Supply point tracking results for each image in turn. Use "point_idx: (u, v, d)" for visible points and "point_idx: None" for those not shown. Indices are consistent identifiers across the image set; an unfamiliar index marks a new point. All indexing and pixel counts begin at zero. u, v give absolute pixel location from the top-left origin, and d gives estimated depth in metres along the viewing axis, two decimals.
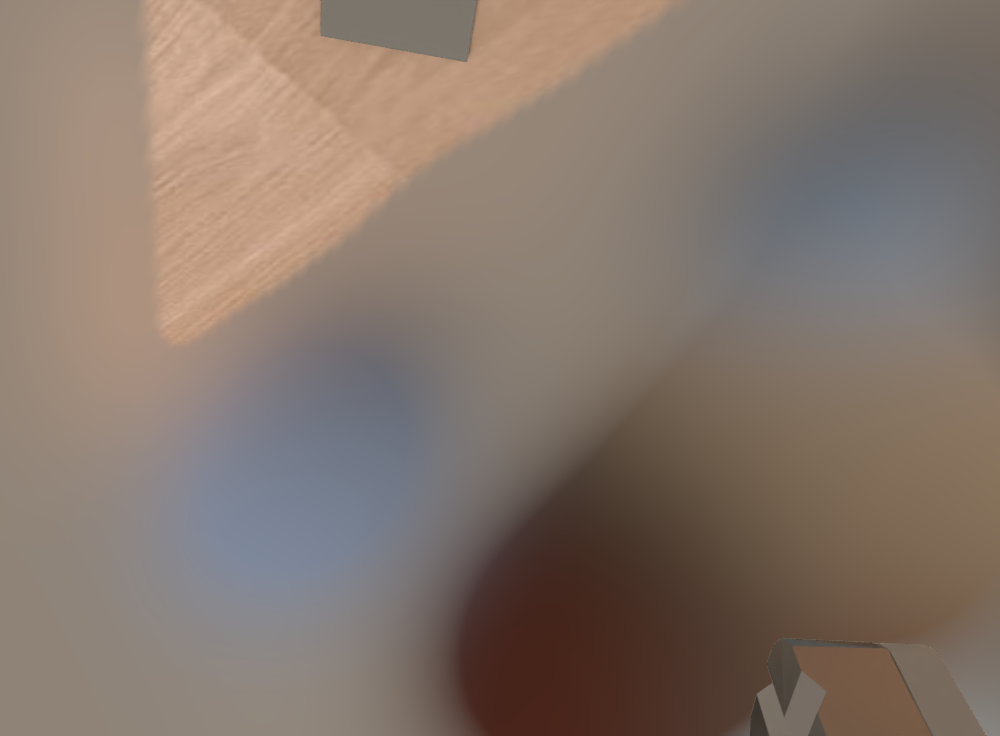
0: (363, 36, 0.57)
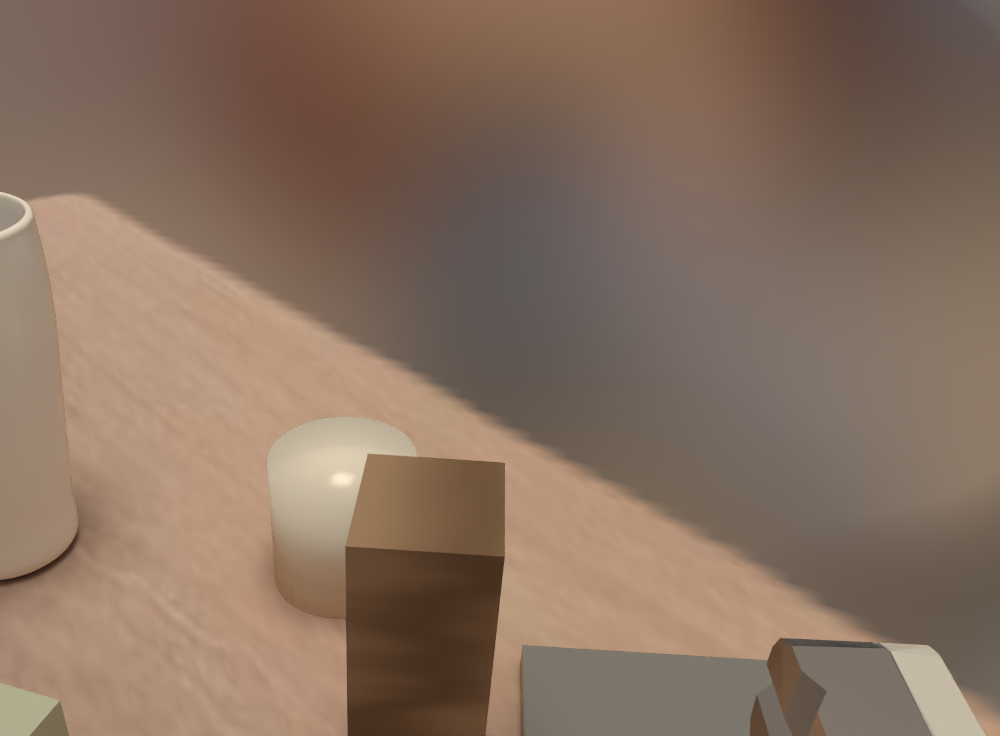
0: None
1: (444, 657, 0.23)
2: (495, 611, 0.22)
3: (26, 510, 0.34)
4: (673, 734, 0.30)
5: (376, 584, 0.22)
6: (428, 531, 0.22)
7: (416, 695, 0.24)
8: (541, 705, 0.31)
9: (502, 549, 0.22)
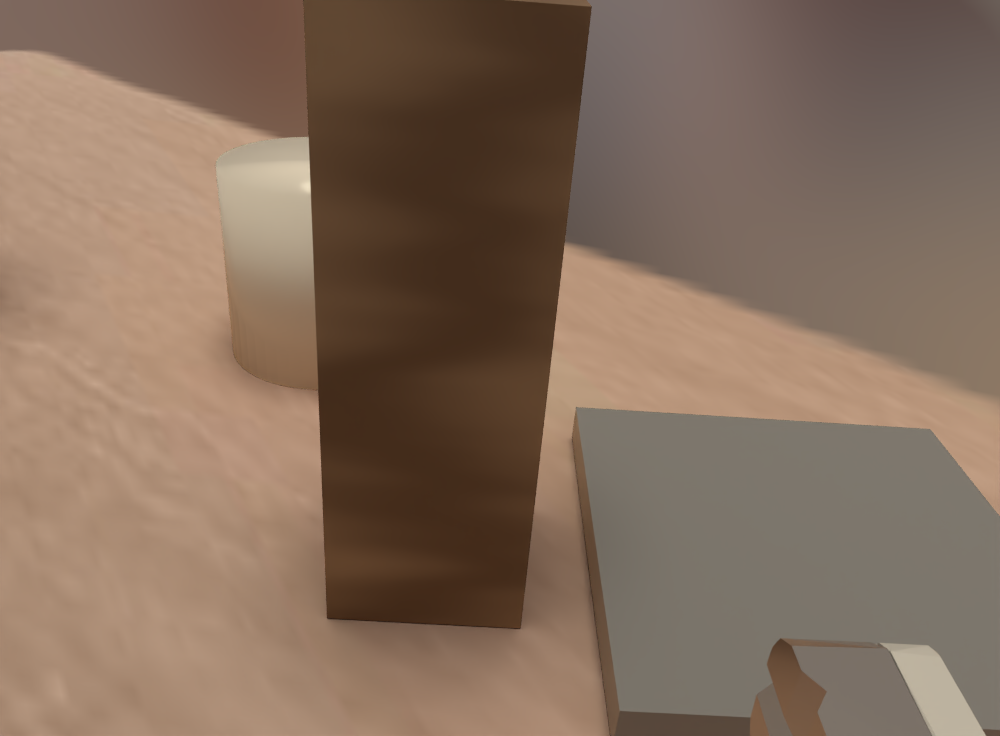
0: None
1: (480, 252, 0.14)
2: (570, 143, 0.13)
3: None
4: (806, 500, 0.21)
5: (360, 80, 0.12)
6: None
7: (431, 338, 0.14)
8: (610, 467, 0.21)
9: (586, 3, 0.12)
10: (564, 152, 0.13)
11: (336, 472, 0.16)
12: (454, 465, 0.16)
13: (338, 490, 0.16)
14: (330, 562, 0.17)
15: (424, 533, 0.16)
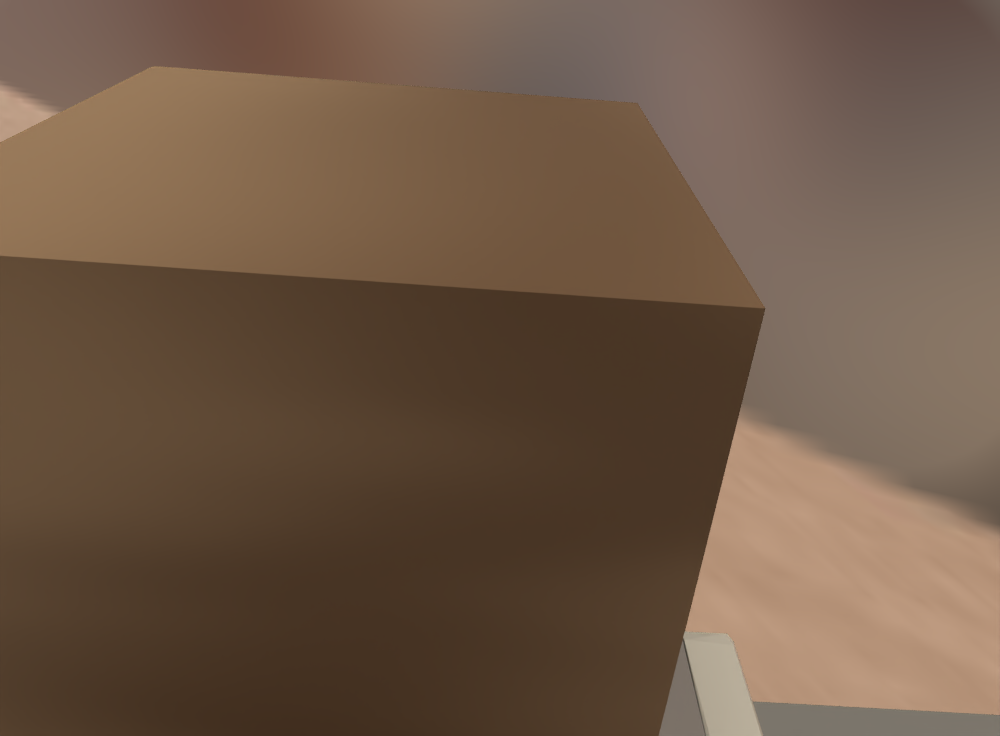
0: None
1: None
2: (668, 630, 0.05)
3: None
4: None
5: (50, 490, 0.04)
6: (330, 212, 0.04)
7: None
8: None
9: (738, 281, 0.04)
10: (651, 648, 0.05)
11: None
12: None
13: None
14: None
15: None
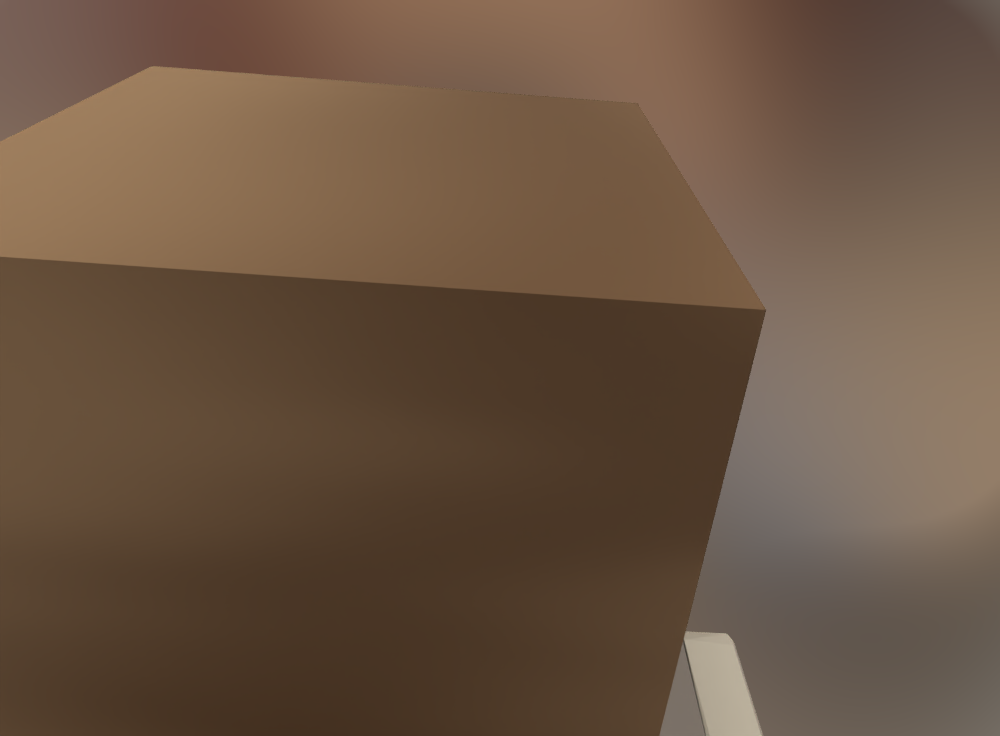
0: None
1: None
2: (669, 632, 0.05)
3: None
4: None
5: (48, 492, 0.04)
6: (330, 214, 0.04)
7: None
8: None
9: (739, 283, 0.04)
10: (651, 650, 0.05)
11: None
12: None
13: None
14: None
15: None
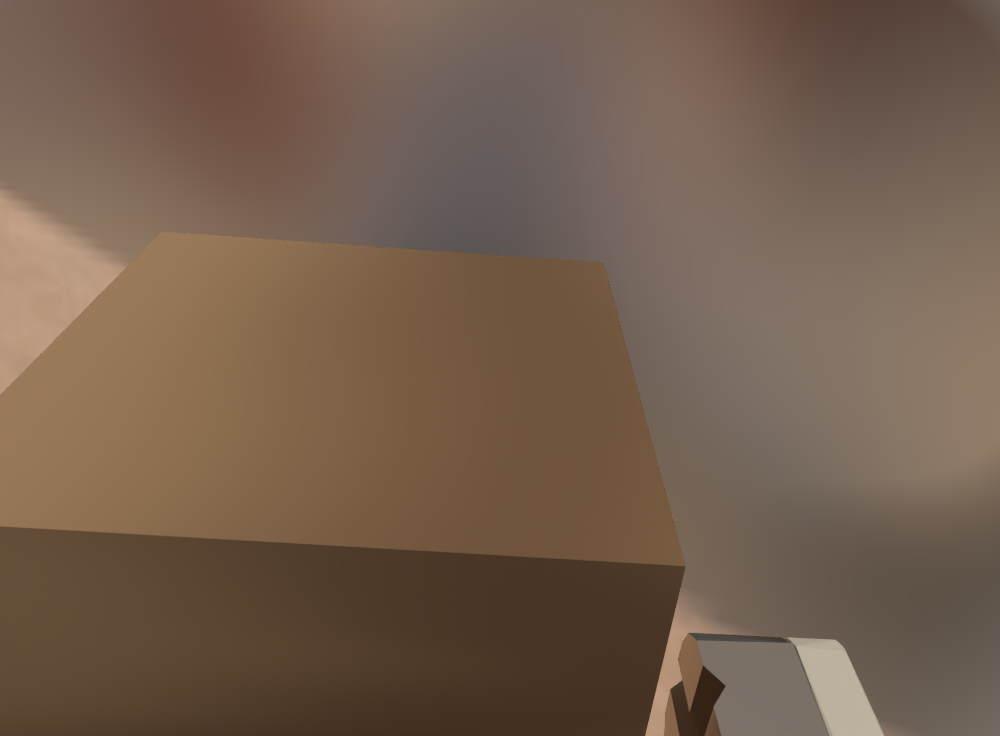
0: None
1: None
2: None
3: None
4: None
5: (79, 696, 0.05)
6: (319, 452, 0.05)
7: None
8: None
9: (666, 531, 0.05)
10: None
11: None
12: None
13: None
14: None
15: None
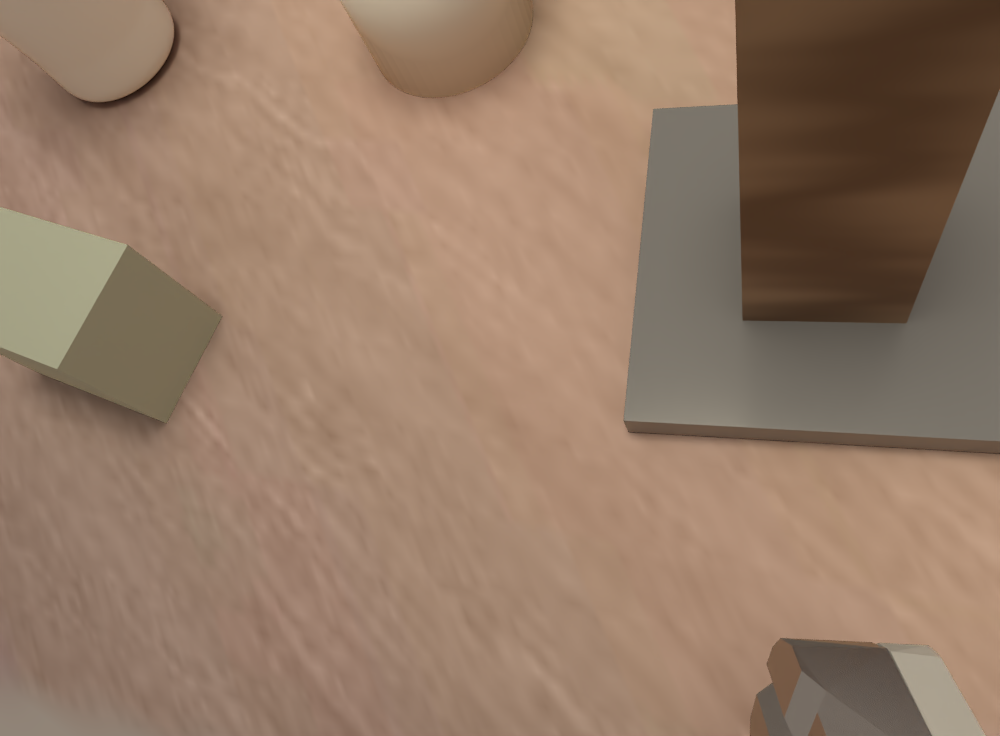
0: None
1: (899, 124, 0.15)
2: None
3: (93, 24, 0.31)
4: None
5: (789, 28, 0.13)
6: None
7: (844, 179, 0.16)
8: (667, 185, 0.25)
9: None
10: None
11: (754, 253, 0.19)
12: (858, 245, 0.18)
13: (754, 261, 0.20)
14: (746, 295, 0.21)
15: (827, 280, 0.20)
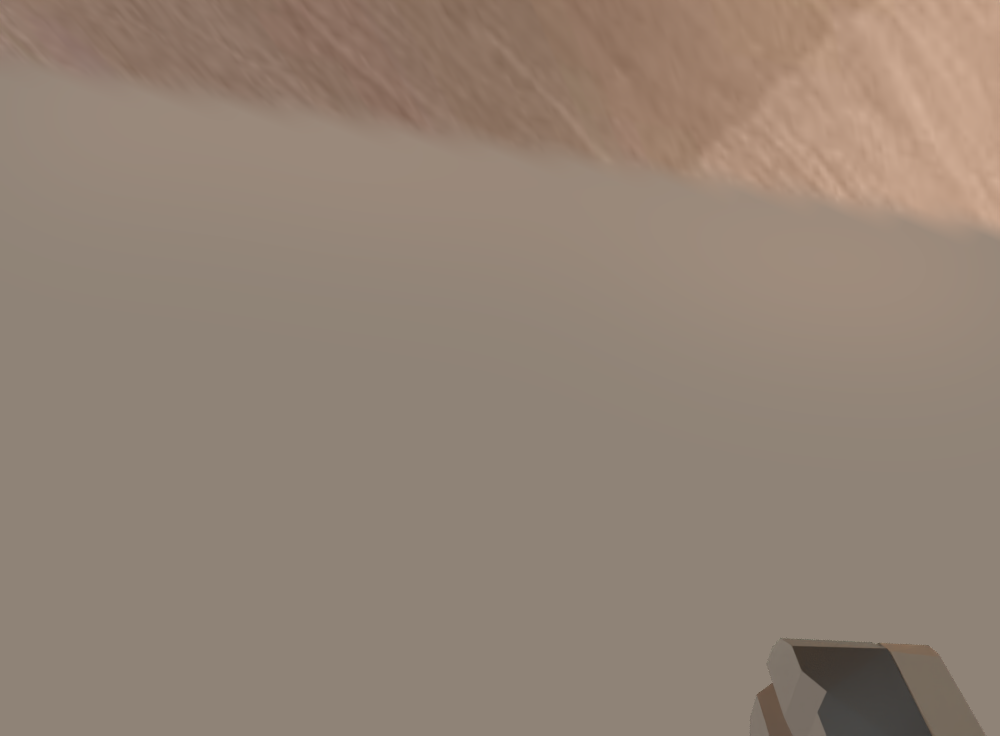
0: None
1: None
2: None
3: None
4: None
5: None
6: None
7: None
8: None
9: None
10: None
11: None
12: None
13: None
14: None
15: None
